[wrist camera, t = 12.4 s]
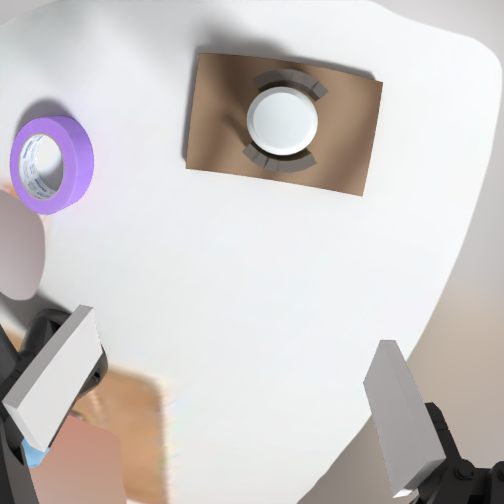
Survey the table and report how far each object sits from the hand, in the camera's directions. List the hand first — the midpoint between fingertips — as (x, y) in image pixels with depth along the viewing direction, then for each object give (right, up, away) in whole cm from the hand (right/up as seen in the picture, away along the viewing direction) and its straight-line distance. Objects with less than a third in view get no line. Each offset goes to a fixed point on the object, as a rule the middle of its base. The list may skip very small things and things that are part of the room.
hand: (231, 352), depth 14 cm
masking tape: (-23, +16, +20) cm, 34 cm away
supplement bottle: (+4, +17, +15) cm, 23 cm away
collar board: (+4, +17, +16) cm, 24 cm away
